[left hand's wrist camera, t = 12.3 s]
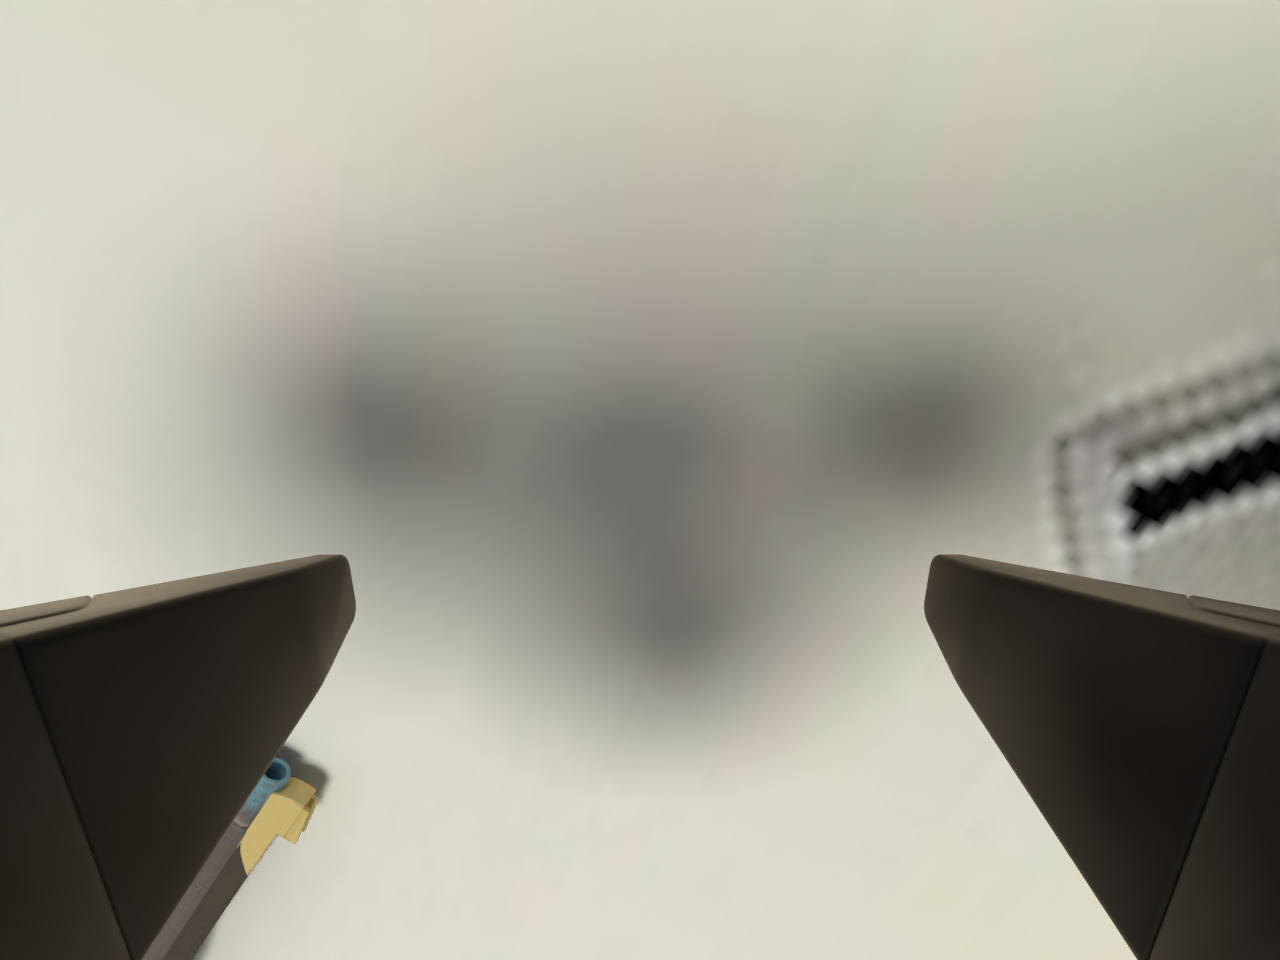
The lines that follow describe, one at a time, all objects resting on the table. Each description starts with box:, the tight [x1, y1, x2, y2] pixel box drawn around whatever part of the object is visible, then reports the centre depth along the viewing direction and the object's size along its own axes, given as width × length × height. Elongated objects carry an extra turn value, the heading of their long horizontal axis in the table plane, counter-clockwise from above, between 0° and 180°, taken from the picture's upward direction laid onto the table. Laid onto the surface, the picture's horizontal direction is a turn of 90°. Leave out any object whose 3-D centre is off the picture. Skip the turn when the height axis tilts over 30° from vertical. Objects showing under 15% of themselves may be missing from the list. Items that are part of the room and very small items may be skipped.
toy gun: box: [143, 758, 319, 960], centre depth 24 cm, size 3×19×10 cm
